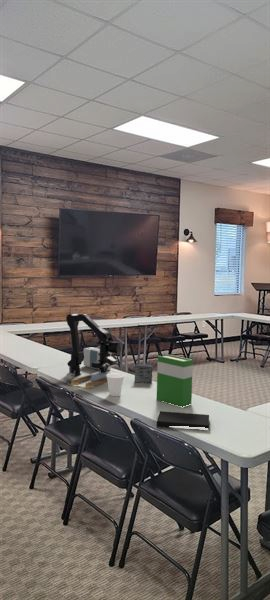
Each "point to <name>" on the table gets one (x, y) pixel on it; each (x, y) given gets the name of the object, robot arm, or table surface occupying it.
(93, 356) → the stereo radio cassette player
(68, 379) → the winch drum
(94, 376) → the crate
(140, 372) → the small box
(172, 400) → the green cereal box
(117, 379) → the cup
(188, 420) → the black book
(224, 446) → the table surface
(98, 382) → the rack bay
